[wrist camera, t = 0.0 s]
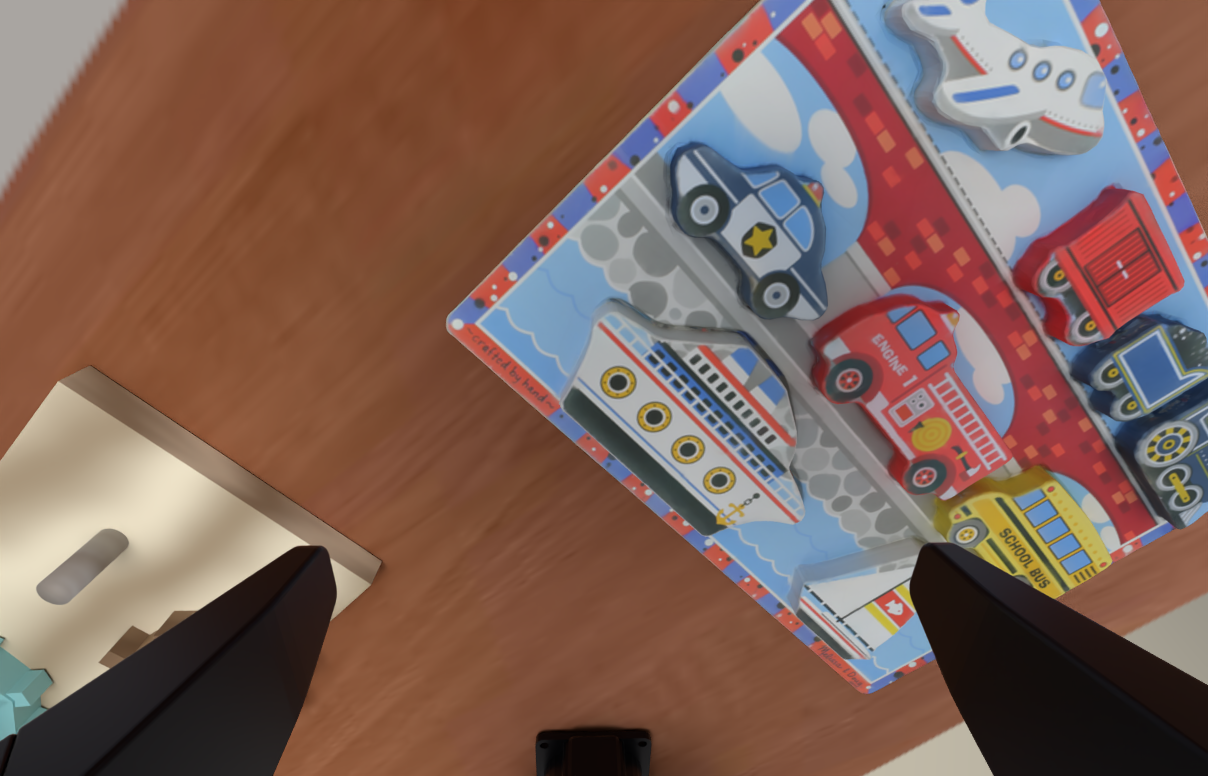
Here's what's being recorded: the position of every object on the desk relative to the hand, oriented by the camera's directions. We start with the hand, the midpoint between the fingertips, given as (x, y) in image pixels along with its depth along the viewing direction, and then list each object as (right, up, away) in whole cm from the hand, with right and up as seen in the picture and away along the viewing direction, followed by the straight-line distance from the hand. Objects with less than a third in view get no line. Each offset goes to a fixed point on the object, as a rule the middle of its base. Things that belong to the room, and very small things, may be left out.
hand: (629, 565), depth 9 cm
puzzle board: (+12, +3, +16) cm, 20 cm away
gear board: (-22, -8, +19) cm, 31 cm away
